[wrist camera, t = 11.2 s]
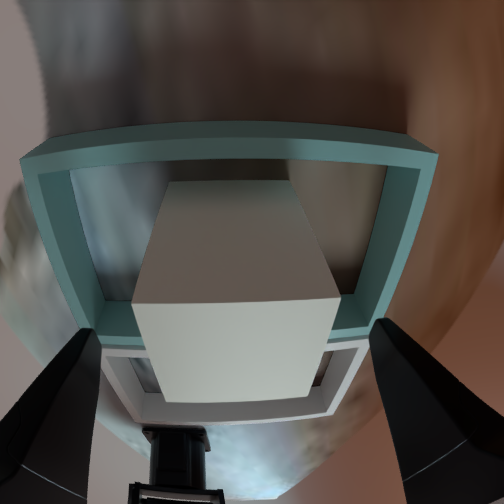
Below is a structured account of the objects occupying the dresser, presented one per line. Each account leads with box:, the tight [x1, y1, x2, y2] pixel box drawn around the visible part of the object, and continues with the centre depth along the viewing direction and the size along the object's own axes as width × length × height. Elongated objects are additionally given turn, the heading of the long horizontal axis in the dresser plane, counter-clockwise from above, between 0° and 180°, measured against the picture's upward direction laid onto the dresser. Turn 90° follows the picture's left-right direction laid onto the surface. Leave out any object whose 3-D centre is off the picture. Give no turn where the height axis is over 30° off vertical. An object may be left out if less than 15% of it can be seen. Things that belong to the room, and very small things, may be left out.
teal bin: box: [20, 121, 439, 346], centre depth 13 cm, size 10×15×2 cm, turn 88°
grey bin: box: [101, 334, 370, 425], centre depth 19 cm, size 10×15×2 cm, turn 88°
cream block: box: [131, 180, 341, 403], centre depth 11 cm, size 5×5×7 cm
